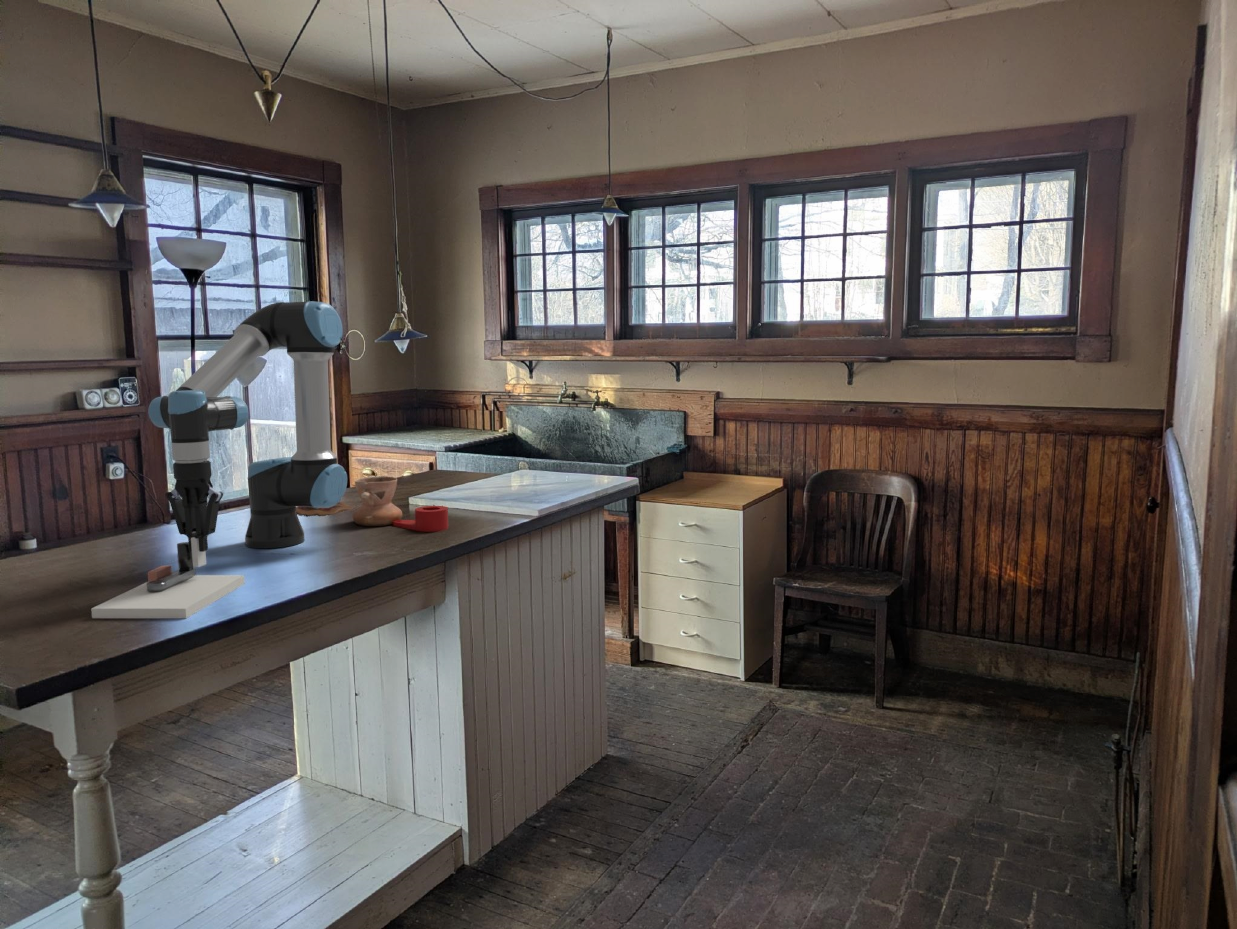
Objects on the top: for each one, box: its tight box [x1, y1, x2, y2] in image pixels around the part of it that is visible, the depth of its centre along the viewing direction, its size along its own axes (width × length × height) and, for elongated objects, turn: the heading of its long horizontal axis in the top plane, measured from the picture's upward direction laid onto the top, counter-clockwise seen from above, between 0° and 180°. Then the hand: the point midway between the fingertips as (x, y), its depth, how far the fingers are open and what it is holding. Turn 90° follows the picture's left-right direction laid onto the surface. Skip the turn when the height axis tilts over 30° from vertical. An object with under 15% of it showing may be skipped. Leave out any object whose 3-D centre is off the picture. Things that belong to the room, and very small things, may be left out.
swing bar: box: [147, 541, 197, 592], centre depth 193 cm, size 14×4×8 cm, turn 174°
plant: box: [296, 500, 356, 517], centre depth 285 cm, size 20×20×11 cm
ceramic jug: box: [352, 475, 403, 527], centre depth 267 cm, size 18×14×14 cm
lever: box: [392, 505, 449, 533], centre depth 260 cm, size 18×9×7 cm, turn 68°
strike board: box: [90, 565, 246, 619], centre depth 188 cm, size 26×19×5 cm
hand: (199, 565), depth 198 cm, fingers closed
